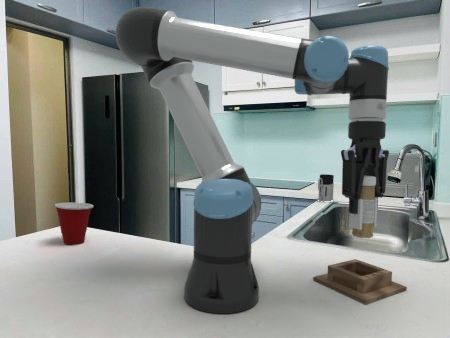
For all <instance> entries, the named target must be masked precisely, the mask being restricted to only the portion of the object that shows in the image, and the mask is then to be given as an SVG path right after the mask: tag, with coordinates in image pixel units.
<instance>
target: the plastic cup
mask: <svg viewBox="0 0 450 338" xmlns="http://www.w3.org/2000/svg"><path fill="white" fill-rule="evenodd" d="M54 206H55V208H56V212H57V216H58V221H59V227H60V233H61V236H62V242H63V244H64V245H66V246H76V245H81V244H83V243H85V240H86V236H87V235H86V233H87V230H88V223H89V220H90V214H91V213H92V212H91V211H92V209H93V208H94V205H93V204H91V203H86V202H85V203H84V202H58V203H55V204H54Z"/></svg>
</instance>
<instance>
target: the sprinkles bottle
mask: <svg viewBox="0 0 450 338" xmlns="http://www.w3.org/2000/svg"><path fill="white" fill-rule="evenodd" d="M375 185H376V177H374V176H366V174H364V179H363V185H362V190H361V196H360V199H363V211H362V229H361V230H359V229H355V228H352V231H351V236H354V237H356V238H360V239H371V238H373V237H374V227H373V222H374V204H375V199H374V196H375Z"/></svg>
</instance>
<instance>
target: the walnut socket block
mask: <svg viewBox="0 0 450 338" xmlns="http://www.w3.org/2000/svg"><path fill="white" fill-rule="evenodd" d="M392 277H393V271H391V270H388V269H385V268H382V267H380V266H377V265H374V264H370V263H368V262H365V261H362V260H359V259H356V258H353V259H349V260H346V261H342V262H341V261H340V262H337V263H332V264H329V265H327V273H323V274H320V275H316V276H315V275H314V276H313V277H312V280H313V281H314V282H317V283H318V284H320V285H322V286H325V287H327V288H329V289H331V290H334V291H335V292H336V293H337V292H338V293H340V294H341V295H344V296H347V298H348V297H349V298H351V299H352V300H355V301H358V302H360V303H361V304H364V305H366V306H367V305H368V304H372V303H374V302H377V301H380V300H383V299H386V298H389V297H392V296H394V295H398V294H400V293H403V292H406V291H407V289H408V288H407V286H406V285H403V284H400V283H399V282H396V281H393V278H392Z"/></svg>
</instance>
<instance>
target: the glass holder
mask: <svg viewBox="0 0 450 338" xmlns="http://www.w3.org/2000/svg"><path fill="white" fill-rule="evenodd" d="M334 178H335V176H334V175H333V174H325V173H324V174H323V173H322V174H319V178H318V180H317V190H318V199H317V201H318V200H319V201H331V200H333V201H334V186H335V185H334V180H335V179H334Z"/></svg>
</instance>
